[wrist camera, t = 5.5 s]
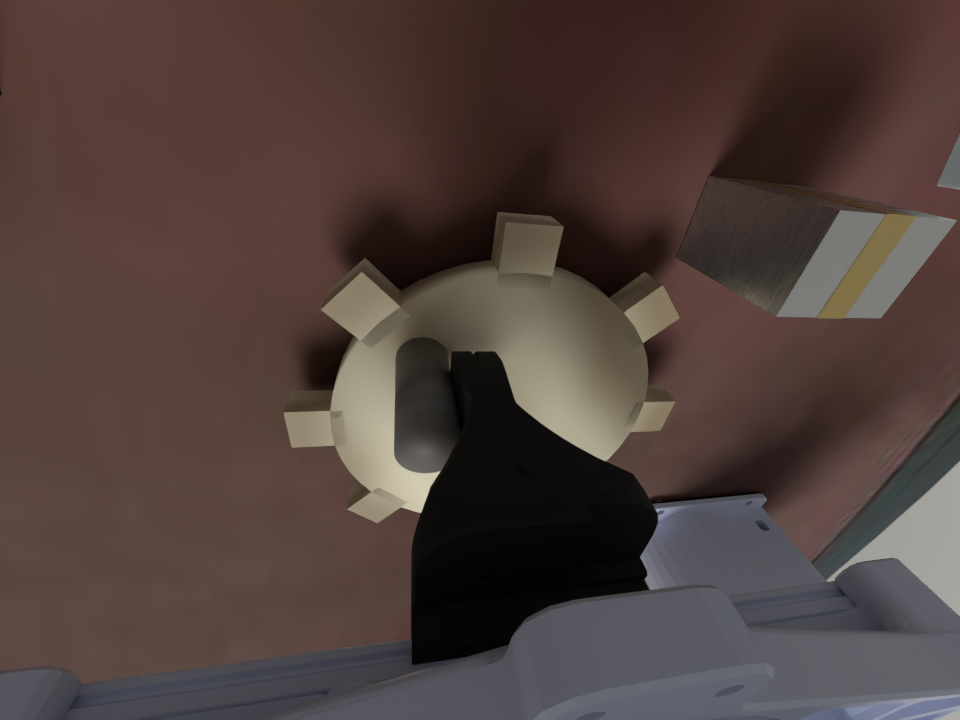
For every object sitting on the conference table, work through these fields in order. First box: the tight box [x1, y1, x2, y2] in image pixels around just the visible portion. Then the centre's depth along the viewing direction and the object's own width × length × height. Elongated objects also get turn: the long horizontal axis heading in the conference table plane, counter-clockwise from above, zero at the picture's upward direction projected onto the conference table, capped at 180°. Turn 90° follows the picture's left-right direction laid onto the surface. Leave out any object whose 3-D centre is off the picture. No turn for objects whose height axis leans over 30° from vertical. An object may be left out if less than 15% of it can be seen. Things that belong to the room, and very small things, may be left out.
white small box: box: [677, 176, 957, 319], centre depth 13 cm, size 4×3×5 cm
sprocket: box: [284, 212, 679, 523], centre depth 14 cm, size 16×16×5 cm
